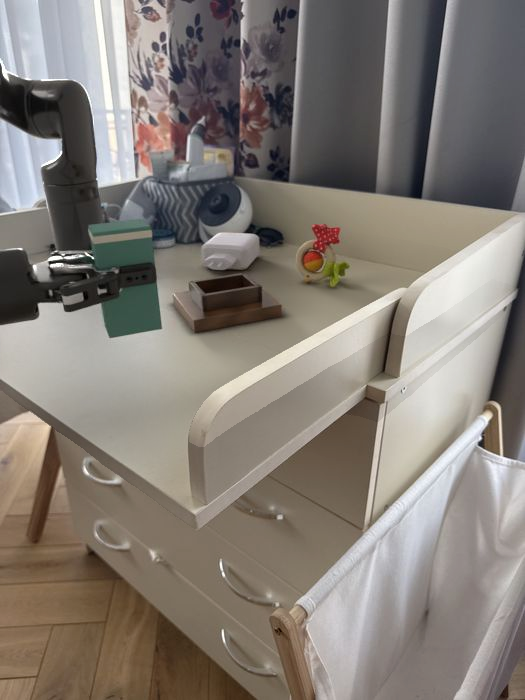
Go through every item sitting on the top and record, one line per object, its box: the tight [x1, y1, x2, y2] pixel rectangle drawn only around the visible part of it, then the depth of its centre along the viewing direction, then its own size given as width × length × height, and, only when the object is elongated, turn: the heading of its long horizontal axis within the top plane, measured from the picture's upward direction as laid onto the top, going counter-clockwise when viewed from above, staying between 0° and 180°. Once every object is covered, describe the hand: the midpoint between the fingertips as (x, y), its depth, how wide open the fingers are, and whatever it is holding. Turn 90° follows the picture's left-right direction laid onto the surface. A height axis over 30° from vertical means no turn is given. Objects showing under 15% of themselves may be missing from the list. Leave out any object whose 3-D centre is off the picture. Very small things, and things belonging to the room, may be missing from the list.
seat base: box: [172, 272, 282, 333], centre depth 86 cm, size 14×12×4 cm
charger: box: [200, 231, 260, 271], centre depth 105 cm, size 5×9×15 cm
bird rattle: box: [295, 223, 350, 288], centre depth 95 cm, size 6×11×9 cm
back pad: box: [88, 218, 163, 339], centre depth 60 cm, size 6×4×12 cm, turn 113°
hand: (150, 266), depth 61 cm, fingers closed on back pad, 3 cm apart
